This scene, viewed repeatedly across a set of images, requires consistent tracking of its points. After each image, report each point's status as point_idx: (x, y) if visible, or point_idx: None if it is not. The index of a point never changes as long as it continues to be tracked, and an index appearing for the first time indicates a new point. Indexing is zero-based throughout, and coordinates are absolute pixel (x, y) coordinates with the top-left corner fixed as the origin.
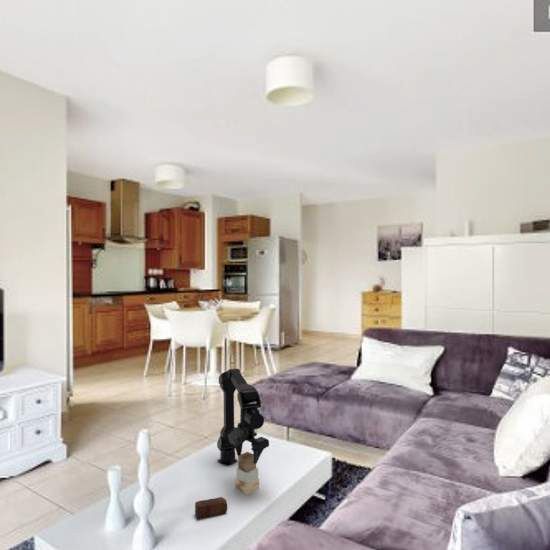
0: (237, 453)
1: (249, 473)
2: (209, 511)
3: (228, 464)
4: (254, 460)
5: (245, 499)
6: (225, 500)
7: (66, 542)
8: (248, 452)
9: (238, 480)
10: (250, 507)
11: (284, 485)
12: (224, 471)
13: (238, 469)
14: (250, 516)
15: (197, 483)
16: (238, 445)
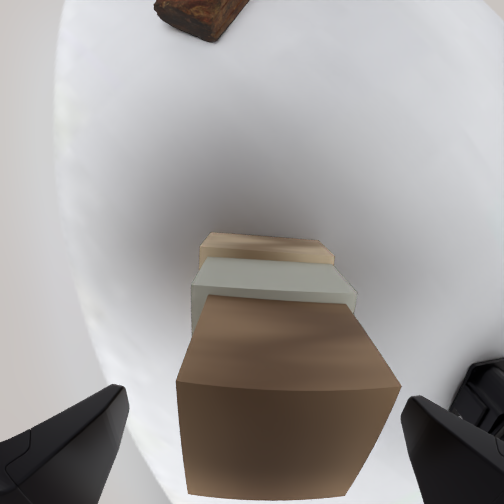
0: (439, 413)
1: (194, 311)
2: None
3: (469, 374)
4: (85, 406)
5: (180, 186)
6: (171, 1)
7: None
8: (321, 495)
9: (300, 253)
10: (106, 148)
11: (141, 409)
12: (462, 329)
13: (328, 291)
14: (65, 99)
15: (493, 156)
16: (474, 495)
